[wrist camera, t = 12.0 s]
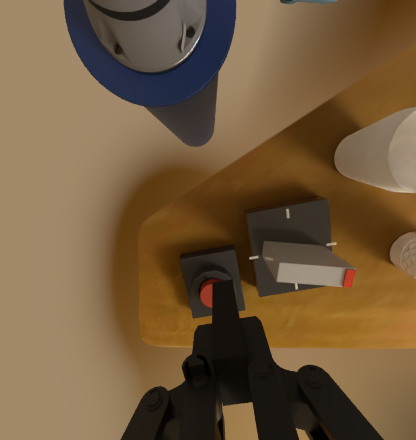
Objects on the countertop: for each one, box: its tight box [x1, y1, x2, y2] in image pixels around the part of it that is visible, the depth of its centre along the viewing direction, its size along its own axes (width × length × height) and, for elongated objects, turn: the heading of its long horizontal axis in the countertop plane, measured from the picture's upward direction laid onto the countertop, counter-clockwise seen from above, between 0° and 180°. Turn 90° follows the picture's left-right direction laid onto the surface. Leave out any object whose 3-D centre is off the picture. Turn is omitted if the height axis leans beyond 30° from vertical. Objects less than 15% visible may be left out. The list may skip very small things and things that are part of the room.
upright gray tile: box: [262, 241, 356, 287], centre depth 30 cm, size 9×2×8 cm, turn 86°
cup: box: [334, 107, 416, 193], centre depth 28 cm, size 9×9×12 cm
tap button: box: [179, 245, 246, 318], centre depth 37 cm, size 11×9×4 cm
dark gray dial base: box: [243, 196, 336, 297], centre depth 35 cm, size 14×13×3 cm
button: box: [200, 279, 220, 308], centre depth 34 cm, size 4×4×2 cm
